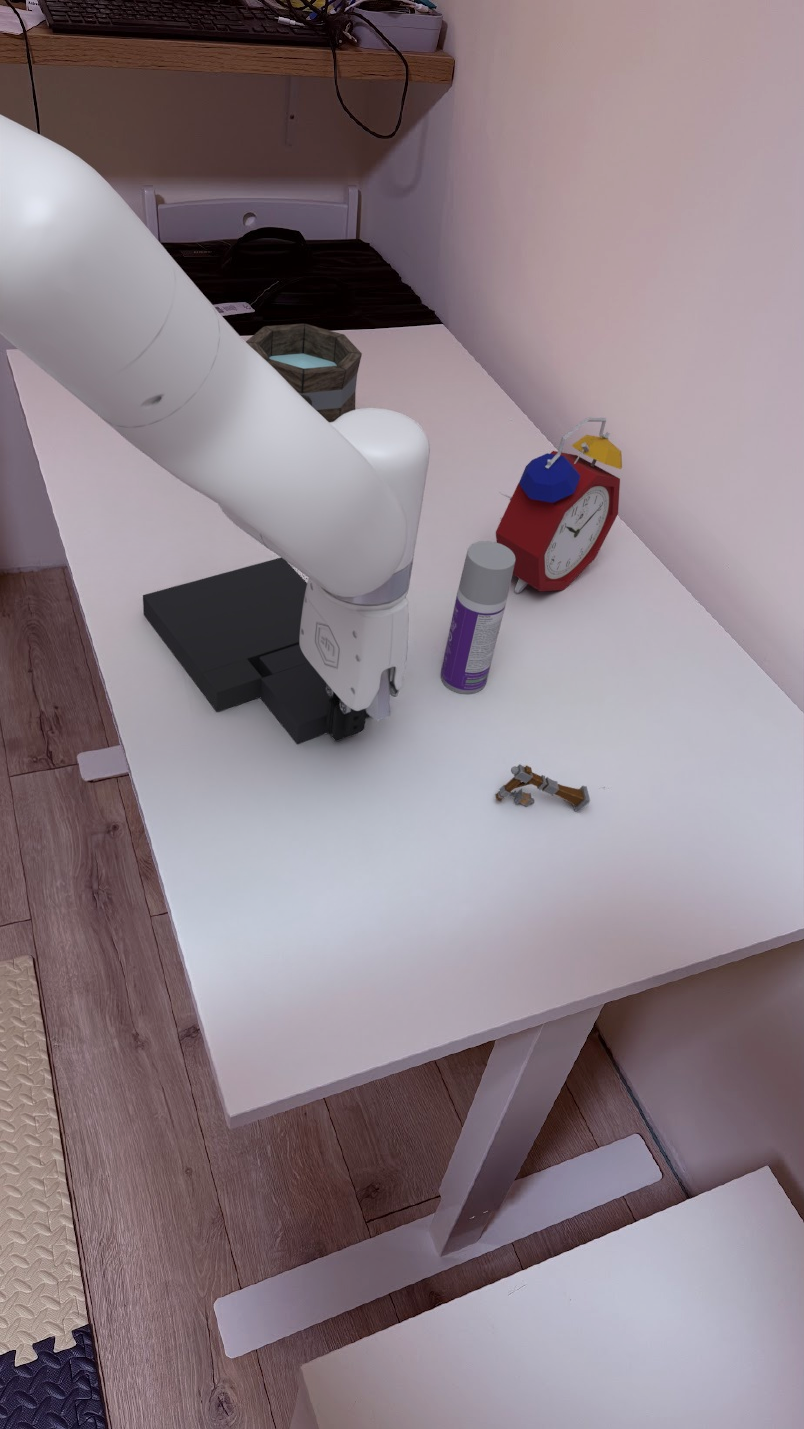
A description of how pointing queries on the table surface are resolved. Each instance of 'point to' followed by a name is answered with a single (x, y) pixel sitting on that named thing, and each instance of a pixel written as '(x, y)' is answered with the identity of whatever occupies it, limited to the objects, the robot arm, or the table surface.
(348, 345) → the mug
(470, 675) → the container
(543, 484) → the alarm clock
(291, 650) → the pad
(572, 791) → the brown jointed two-tone fixture
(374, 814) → the table surface
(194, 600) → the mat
